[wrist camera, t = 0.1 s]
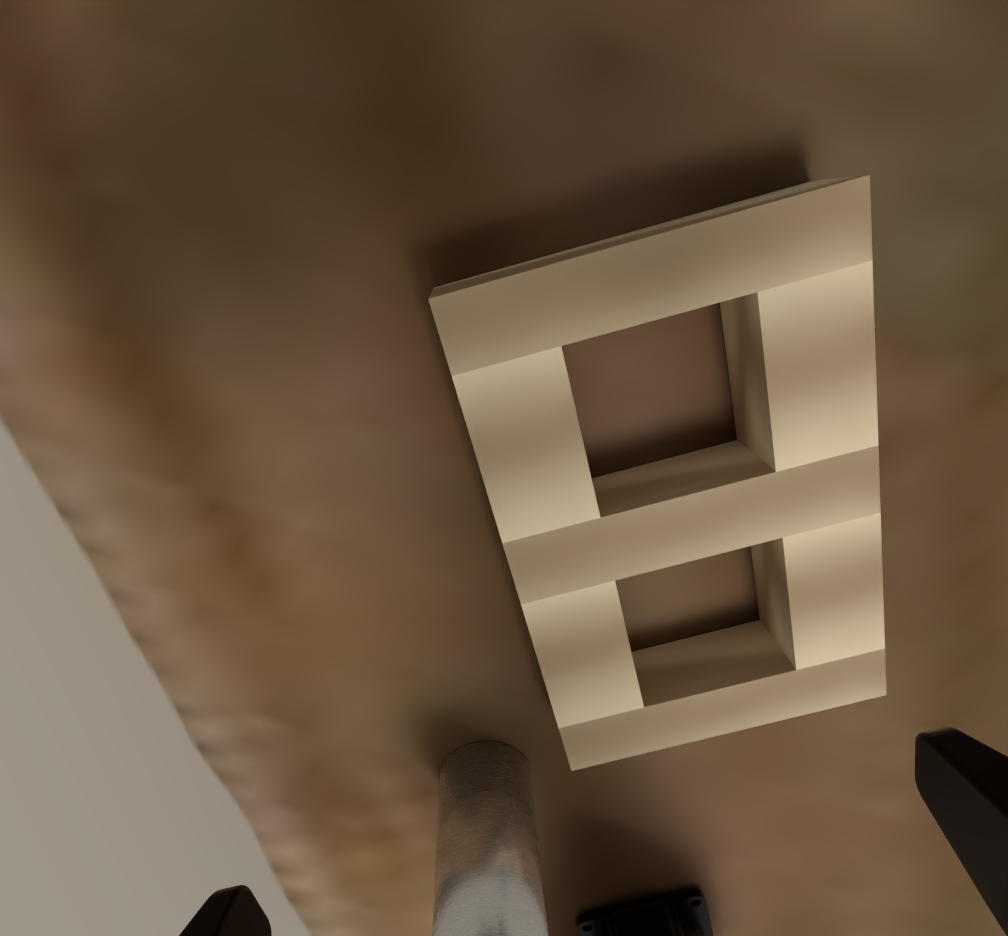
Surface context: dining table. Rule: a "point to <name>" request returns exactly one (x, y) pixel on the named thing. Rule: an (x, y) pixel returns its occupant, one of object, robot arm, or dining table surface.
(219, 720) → the dining table surface
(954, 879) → the dining table surface
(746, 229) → the frame
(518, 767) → the grey cylinder
